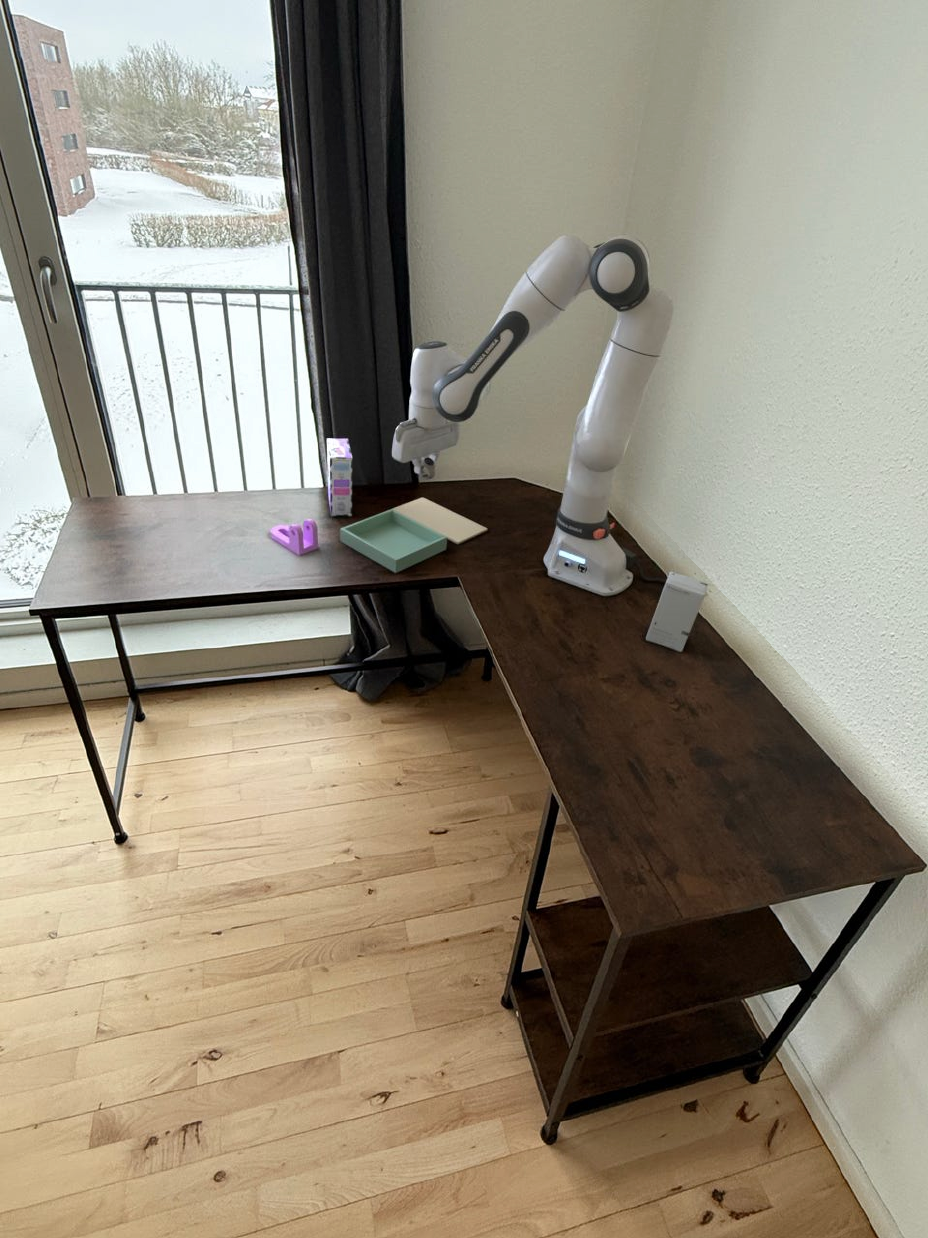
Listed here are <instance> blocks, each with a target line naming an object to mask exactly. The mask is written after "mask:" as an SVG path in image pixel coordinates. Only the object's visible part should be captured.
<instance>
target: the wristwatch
mask: <svg viewBox="0 0 928 1238" xmlns="http://www.w3.org/2000/svg"><path fill="white" fill-rule="evenodd" d="M429 457H430V456H423V457H421V461H420V462H421V463H422V464H421V465H422V466H424V468H426V470H427V471H428V473H426V472H424V471H423V472H422V473H420V474H418V476H419V477H421V478H423V479H425V480H432V479H434V477H435V476H436V475H435V474H436V463H434V461H433V460H432V459H431V458H429Z"/></svg>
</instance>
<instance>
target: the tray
mask: <svg viewBox="0 0 928 1238" xmlns="http://www.w3.org/2000/svg"><path fill="white" fill-rule="evenodd" d="M339 537H340V539H339V541H340V542H341V543H342V544H345V545H346V546H348V547H349V548H351V549H353V550H355V551H356V552H358V553H360V554H362V555H363V556H365V557H367V558H368V559H370V560H372V561H374V562H375V563H377V564H379V565H381V566H383V567H384V568H386V569H388V570H390V571H391V572H393V573H394V574H397V573H399V572H401V571H403V570H405V569H407V568H410V567H413V566H414V565H416V564H418V563H421V562H423V561H424V560H427V559H429V558H431V557H434V556H436V555H437V554H440V553H442V552H443V551H446V550H447V545H448V539H447V537H446V536H444V535H442V534H440V533H438V532H436V531H434V530H432V529H430V528H428V527H426V526H424V525H422V524H420V523H418V522H417V521H415V520H413V519H411V518H409V517H407V516H405V515H403V514H401V513H399V512H397V511H395V510H393V508H391V509H388V510H386V511H383V512H380V513H378V514H375V515H372V516H370V517H367V518H364V519H362V520H359V521H357V522H354V523H351V524H348V525H346V526H343V527H341V528H340V530H339Z"/></svg>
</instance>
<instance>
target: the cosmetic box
mask: <svg viewBox="0 0 928 1238" xmlns="http://www.w3.org/2000/svg"><path fill="white" fill-rule="evenodd" d="M667 575H668V576H667V578H666V583H665V584H664V586H663V589H662V591H661V594H660V597H659V600H658V603H657V606H656V609H655V612H654V614H653V617H652V620H651V622H650V625H649V628H648V630H647V633H646V637H645V641H647V642H649V643H653V644H657V645H659V646H663V647H666V648H669V649H672V650H675V651H676V652H680V653H682V652H683V651H684V647H685V645H686V643H687V640H688V638H689V635H690V634H691V630H692V629H693V626H694V623H695V621H696V619H697V616H698V614H699V611H700V609H701V606H702V604H703V601H704V600H705V596H706V592H707V589H708V586H709V583H708V582H705V581H701V580H698V579H695V578H694V577H691V576H688V575H683V574H680V573H677V572H674V571H669V573H668V574H667Z"/></svg>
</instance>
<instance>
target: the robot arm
mask: <svg viewBox="0 0 928 1238" xmlns="http://www.w3.org/2000/svg"><path fill="white" fill-rule="evenodd" d="M650 260H651V259H650V254H649V252H648V249H647V247H646V246H645V245H644V243H643V242H642V241H641V240H639V239H638V238H636V237H633V236H630V235H618V236H614V237H612V238H610V239H608V240H607V241H605V242H602V243H599V244H597V245H595V246H593V247H592V246H590V245H588V244H587V242H586V241H585V240H584V239H582V238H581V237H579V236H577V235H574V234H564V235H562V236H560V237H558V238H557V239H556V240H555V241H554V242H552V243H551V244H550V245H549V246H548V247H547V248H546V249H545V250H544V251H542V252H541V253H540V254H539V256H537V258H536V259H535V260H534V261H533V262H532V263H531V264H530V266H528V268H527V269H526V270H525V272H523V275H522V276H521V277H520V279H519V280H518V281H517V283H516V284H515V286H514V288H513V289H512V291H511V292H510V294H509V296H508V298H507V300H506V302H505V303H504V306H502V309H501V311H500V313H499V315H498V317H497V318H496V320H495V322H494V324H493V326H492V328H491V329H490V331H489V332H488V334H487V335H486V337H485V338H484V339H483V340H482V341H481V343H480V344H479V345H478V346H477V348H476V349H475V350H474V351H473V352H472V354H471V355H470V356H469V357H468V358H466V357H464V356H462V355H461V354H459V353H457V351H455V350H454V349H452V347H451V346H450V345H449V343H447V342H444V341H440V340H438V341H437V340H436V341H435V340H434V341H428V342H423V343H421V344H419V345H418V346H417V347H416V348H414V351H413V354H412V358H411V365H410V376H409V378H410V379H409V383H410V388H411V392H410V396H409V405H408V420H405V421H404V420H403V421H401V422H399V425H398V426H397V427H396V428H395V431H394V435H393V440H392V448H391V457H392V458H393V460H394V461H397V462H399V463H402V464H405V463H409V462H412V464H413V466H414V467H413V471H414V473H415V474H417V475H419V474H420V473H422V472H424V469H425V467H424V465H423V464H421V462H422V461H421V458H422V457H427V456H428V457H429V458H431V459H432V460H433V461H434V463H435V464H437V463H436V462H437V460H438V459H439V456H440V452H441V451H443V450H446V449H450V448H452V447H455V446H456V445H457V444H458V442H459V438H460V429H461V428H460V425H461V423H463V422H465V421H467V420H469V419H470V418H471V417H472V416H473V415H474V414H475V412H476V410H477V409H478V407H479V406H481V405H480V404H481V403H482V402H483V401H484V400H485V399H486V397H487V395H488V394H489V392H490V390H491V380H492V379H493V378H494V376H495V375H496V374H497V373H498V372H499V371H500V369H502V367H504V365H505V364H506V362H507V361H509V359H510V358H511V357H512V356H513V355H514V354H515V353H517V351H519V350H520V349H522V348H523V347H524V346H526V345H528V343H530V342H531V341H532V340H534V339H536V338H537V337H538V336H539V335H541V334H542V333H544V332H545V331H546V330H547V329H548V328H549V327H550V326H551V325H552V324H554V323H555V322H556V321H557V320H558V319H559V318H560V317H561V316H562V315H563V314H564V313H565V311H566V310H567V309H568V308H569V307H570V306H571V304H572V303H573V302H574V301H575V300H576V299H577V298H578V297H579V296H580V295H581V294H582V293H584V292H586V291H587V290H588V291H589V290H593V291H594V293H595V294H596V295H597V296H598V297H599V298H600V299H601V300H602V301H604V302H605V303H607V304H608V305H609V306H611V307H612V308H613V309H614V310H616V311H617V314H616V319H615V322H614V325H613V328H612V331H611V333H610V335H609V338H608V342H607V344H606V347H605V349H604V352H603V355H602V358H601V360H600V363H599V366H598V368H597V371H596V374H595V377H594V380H593V384H592V386H591V390H590V394H589V397H588V400H587V403H586V405H585V406H584V407H583V408H582V409H581V410H580V412H579V414H578V415H577V417H576V422H575V426H574V431H573V437H572V443H571V448H570V454H569V460H568V464H567V465H568V466H567V471H566V478H565V482H564V487H563V488H564V489H563V493H562V498H561V503H560V506H559V507H558V509H557V513H556V518H555V523H554V524H555V529H554V533H553V535H552V538H551V541H550V544H549V546H548V549H547V551H546V552H545V554H544V556H543V559H542V560H543V563H544V565H545V567H546V568H547V576H549V577H550V578H553V579H556V580H559V581H561V582H564V583H567V584H569V585H572V586H575V587H577V588H580V589H582V590H586V591H588V592H592V593H593V594H597V595H599V596H602V597H609V596H614V595H618V594H619V593H622V592H623V591H625V590H626V589H627V588H629V587H630V586H631V584H632V583H633V581H634V580H633V578H634V574H633V573H632V571H629V570H628V569H629V568H632V567H634V566H635V567H636V568H637V572H638V574H639V577H640V578H641V579H642V580H643V581H646V582H649V583H652V582H658V583H662V584H664V585H665V583H666V581H667V579H664V578H659V577H647V576H645V575H644V573H643V569H642V567H641V565H640V564H639V562H638V561H637V556H638V555H637V554H636V553H635V552H633V551H631V550H629V549H627V548H625V547H621V546H620V545H619V544H618V542H617V541H616V540H615V539H614V537H613V536H612V535H611V533H610V532H611V530H612V529H613V528H614V527H615V524H616V522H612V523H611V524H610V523H609V519H608V511H609V507H610V504H611V503H610V502H611V498H612V494H613V492H614V491H613V490H614V486H615V479H616V474H617V473H616V472H617V466H618V465H619V464H620V463H621V462H622V460H623V458H624V456H625V454H626V451H627V448H628V445H629V442H630V440H631V437H632V434H633V431H634V429H635V425H636V423H637V421H638V417H639V414H640V410H641V407H642V404H643V400H644V397H645V394H646V391H647V389H648V387H649V384H650V382H651V379H652V377H653V375H654V372H655V370H656V368H657V365H658V363H659V361H660V358H661V356H662V354H663V351H664V348H665V346H666V342H667V340H668V336H669V333H670V330H671V326H672V322H673V318H674V313H675V303H674V300H673V298H672V297H671V295H669V294H668V292H666V291H665V290H663V289H661V288H659V287H655V286H654V285H653V284H652V283H651V281H650V267H651V266H650V265H651V261H650Z"/></svg>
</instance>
